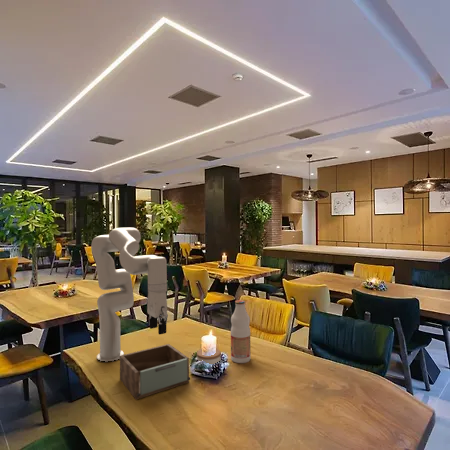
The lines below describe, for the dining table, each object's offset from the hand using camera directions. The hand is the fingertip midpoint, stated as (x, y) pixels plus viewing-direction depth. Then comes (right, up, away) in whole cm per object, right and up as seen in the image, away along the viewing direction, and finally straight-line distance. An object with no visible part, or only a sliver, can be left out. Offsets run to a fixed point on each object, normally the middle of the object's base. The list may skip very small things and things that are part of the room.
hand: (157, 330), depth 130 cm
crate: (-2, -22, +3) cm, 23 cm away
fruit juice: (+35, -22, +24) cm, 48 cm away
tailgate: (+4, -20, -5) cm, 21 cm away
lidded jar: (+20, -22, +14) cm, 33 cm away
